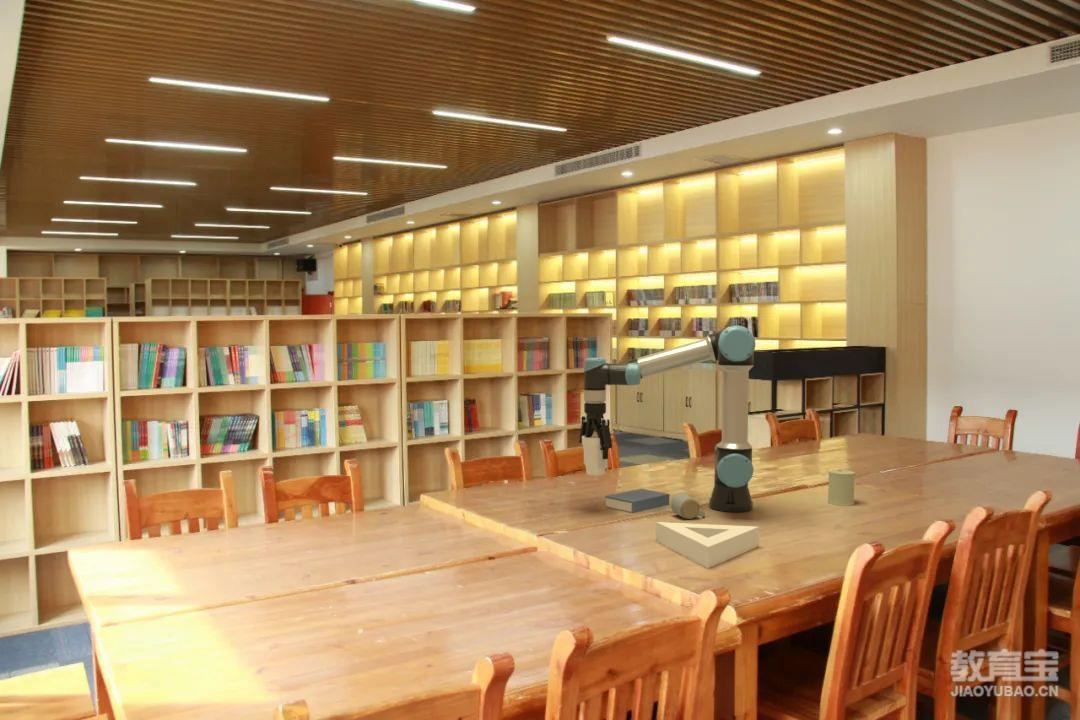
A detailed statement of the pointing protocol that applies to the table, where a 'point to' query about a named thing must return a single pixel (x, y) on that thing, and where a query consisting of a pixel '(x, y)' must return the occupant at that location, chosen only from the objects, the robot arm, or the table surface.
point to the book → (637, 500)
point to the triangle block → (707, 540)
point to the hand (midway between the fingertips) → (595, 466)
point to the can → (841, 487)
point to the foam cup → (592, 455)
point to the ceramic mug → (685, 506)
